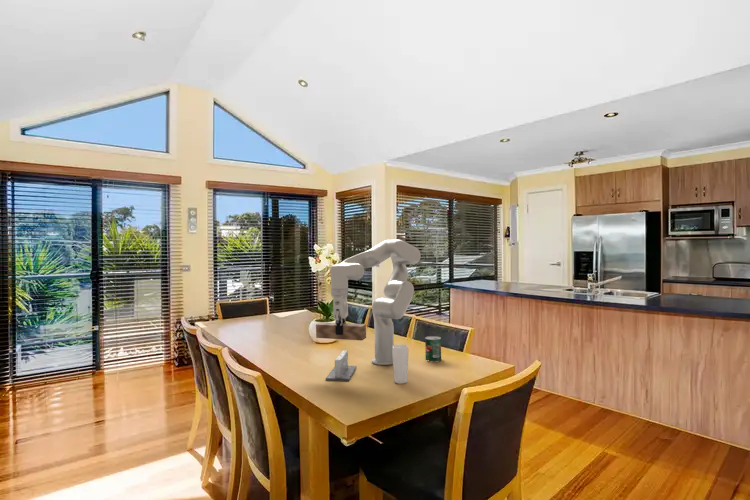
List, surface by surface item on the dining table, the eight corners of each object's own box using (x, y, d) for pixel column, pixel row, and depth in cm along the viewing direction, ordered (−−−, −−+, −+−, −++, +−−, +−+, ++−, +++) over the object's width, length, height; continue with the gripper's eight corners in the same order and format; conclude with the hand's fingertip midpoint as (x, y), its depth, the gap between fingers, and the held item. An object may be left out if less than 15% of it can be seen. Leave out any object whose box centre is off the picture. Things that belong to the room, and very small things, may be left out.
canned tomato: (422, 359, 193) (421, 337, 193) (432, 356, 198) (432, 335, 198) (434, 362, 187) (434, 340, 187) (444, 359, 192) (444, 337, 192)
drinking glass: (404, 385, 156) (403, 349, 156) (389, 383, 160) (389, 347, 160) (411, 380, 162) (411, 345, 162) (397, 378, 165) (397, 343, 165)
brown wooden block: (366, 337, 169) (365, 324, 169) (362, 340, 165) (361, 326, 165) (321, 335, 177) (321, 322, 176) (316, 337, 172) (315, 324, 172)
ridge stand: (356, 368, 181) (356, 350, 181) (348, 381, 163) (348, 361, 163) (335, 367, 182) (335, 349, 182) (325, 380, 164) (325, 360, 164)
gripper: (344, 294, 161) (345, 337, 162) (351, 289, 178) (352, 328, 179) (326, 295, 162) (328, 337, 162) (335, 290, 179) (336, 328, 180)
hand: (340, 332), depth 171 cm, fingers closed on brown wooden block, 5 cm apart
